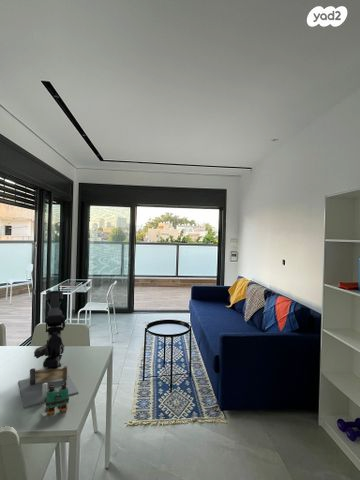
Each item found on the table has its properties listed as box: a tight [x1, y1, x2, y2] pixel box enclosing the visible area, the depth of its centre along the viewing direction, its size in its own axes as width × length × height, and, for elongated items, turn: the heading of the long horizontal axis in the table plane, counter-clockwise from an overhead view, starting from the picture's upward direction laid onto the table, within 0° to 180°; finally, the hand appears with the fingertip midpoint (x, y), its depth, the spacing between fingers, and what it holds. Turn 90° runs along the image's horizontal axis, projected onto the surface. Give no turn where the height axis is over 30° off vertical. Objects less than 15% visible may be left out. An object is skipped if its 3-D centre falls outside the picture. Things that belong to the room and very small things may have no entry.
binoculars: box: [45, 382, 70, 415], centre depth 116 cm, size 9×11×10 cm
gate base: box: [18, 372, 79, 409], centre depth 131 cm, size 24×21×7 cm
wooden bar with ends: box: [29, 365, 68, 385], centre depth 134 cm, size 16×2×6 cm, turn 110°
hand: (54, 372), depth 137 cm, fingers closed
